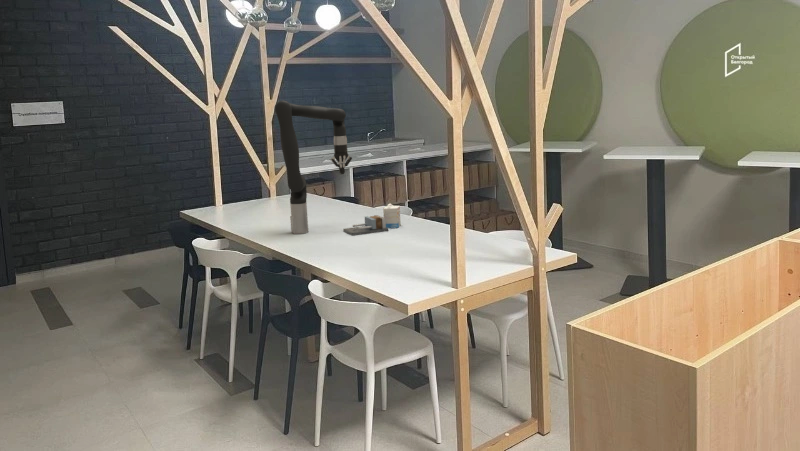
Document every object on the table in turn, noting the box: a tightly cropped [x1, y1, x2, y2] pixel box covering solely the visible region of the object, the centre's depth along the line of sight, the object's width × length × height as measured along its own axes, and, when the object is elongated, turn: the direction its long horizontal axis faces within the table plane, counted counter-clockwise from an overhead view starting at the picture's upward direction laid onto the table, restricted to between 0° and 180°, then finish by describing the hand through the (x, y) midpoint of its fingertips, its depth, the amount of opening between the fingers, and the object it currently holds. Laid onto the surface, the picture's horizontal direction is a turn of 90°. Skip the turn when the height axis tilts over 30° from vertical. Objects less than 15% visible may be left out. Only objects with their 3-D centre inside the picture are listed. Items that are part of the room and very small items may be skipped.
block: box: [369, 215, 381, 229], centre depth 390 cm, size 4×7×6 cm, turn 24°
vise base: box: [343, 214, 389, 237], centre depth 388 cm, size 22×14×7 cm, turn 114°
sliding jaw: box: [352, 215, 376, 230], centre depth 388 cm, size 10×12×6 cm
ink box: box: [382, 203, 402, 229], centre depth 397 cm, size 9×8×13 cm
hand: (342, 173), depth 393 cm, fingers closed
